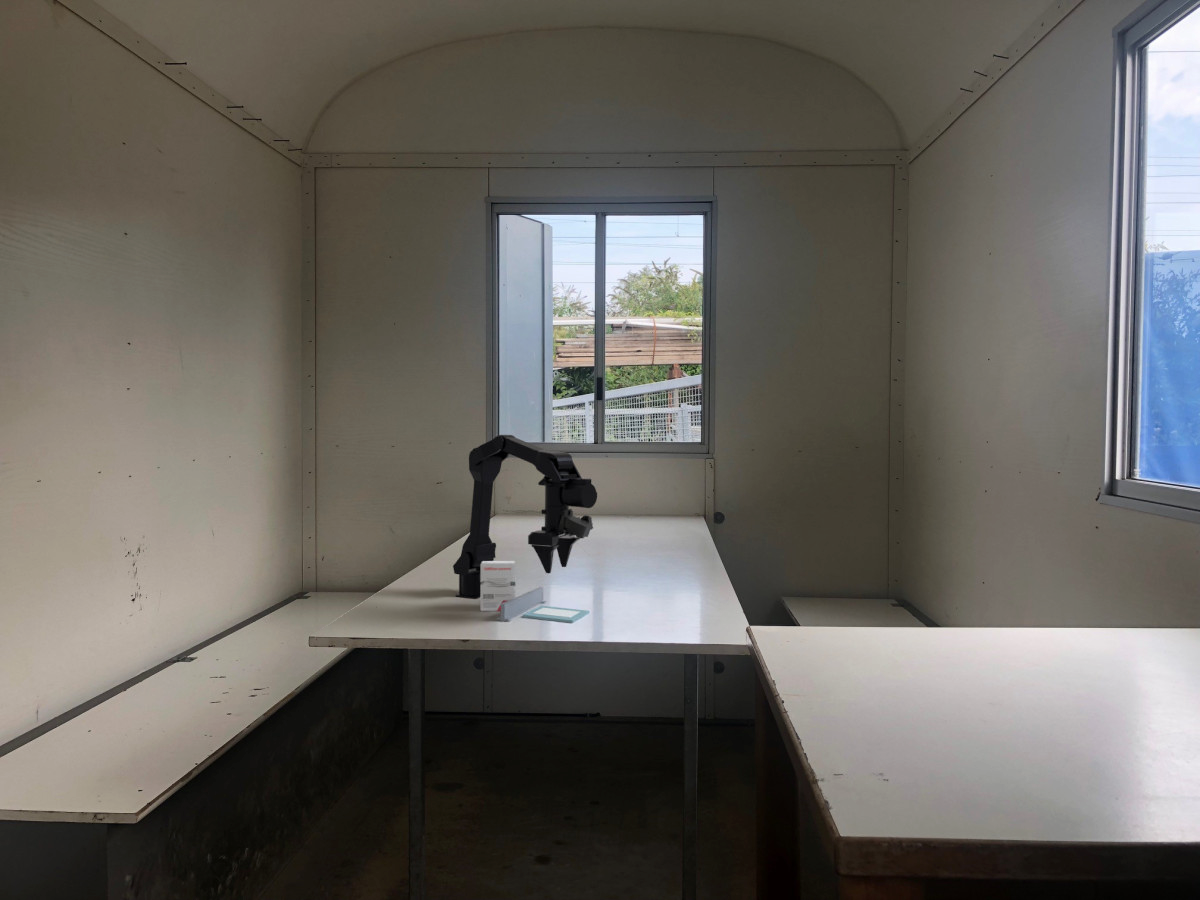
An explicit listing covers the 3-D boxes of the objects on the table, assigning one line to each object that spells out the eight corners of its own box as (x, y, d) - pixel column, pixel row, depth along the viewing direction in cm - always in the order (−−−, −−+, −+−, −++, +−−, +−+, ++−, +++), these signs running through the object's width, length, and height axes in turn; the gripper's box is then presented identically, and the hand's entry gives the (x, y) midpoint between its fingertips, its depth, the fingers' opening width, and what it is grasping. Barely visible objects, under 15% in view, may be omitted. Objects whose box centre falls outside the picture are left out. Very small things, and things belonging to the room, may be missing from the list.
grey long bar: (497, 620, 174) (497, 603, 174) (536, 602, 193) (536, 586, 193) (508, 621, 173) (508, 604, 173) (546, 603, 192) (546, 587, 191)
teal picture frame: (522, 617, 177) (522, 614, 177) (541, 608, 187) (541, 605, 187) (572, 623, 172) (572, 620, 172) (589, 613, 182) (589, 610, 182)
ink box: (515, 606, 188) (515, 559, 188) (515, 611, 183) (515, 563, 183) (481, 606, 188) (481, 560, 187) (480, 611, 183) (480, 563, 182)
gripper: (571, 510, 167) (570, 580, 168) (602, 503, 184) (602, 566, 185) (527, 508, 171) (526, 576, 172) (561, 501, 189) (561, 562, 189)
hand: (556, 570), depth 179 cm, fingers open, 8 cm apart
